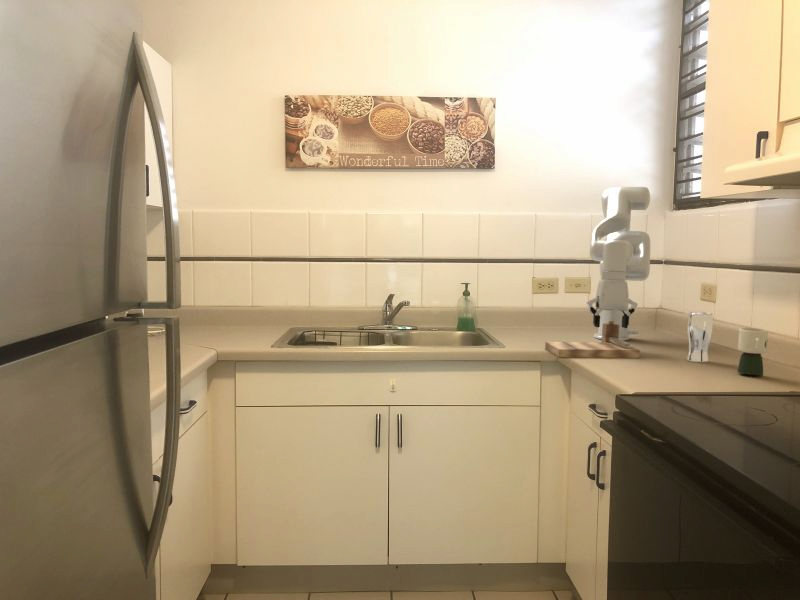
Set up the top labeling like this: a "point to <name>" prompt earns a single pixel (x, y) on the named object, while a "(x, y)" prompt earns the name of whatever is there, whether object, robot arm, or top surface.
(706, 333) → the beer glass
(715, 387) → the top surface
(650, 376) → the top surface
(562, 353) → the oak board
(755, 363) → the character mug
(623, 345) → the marking gauge
